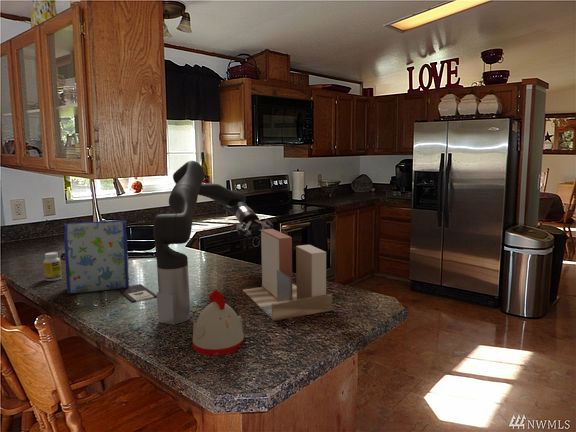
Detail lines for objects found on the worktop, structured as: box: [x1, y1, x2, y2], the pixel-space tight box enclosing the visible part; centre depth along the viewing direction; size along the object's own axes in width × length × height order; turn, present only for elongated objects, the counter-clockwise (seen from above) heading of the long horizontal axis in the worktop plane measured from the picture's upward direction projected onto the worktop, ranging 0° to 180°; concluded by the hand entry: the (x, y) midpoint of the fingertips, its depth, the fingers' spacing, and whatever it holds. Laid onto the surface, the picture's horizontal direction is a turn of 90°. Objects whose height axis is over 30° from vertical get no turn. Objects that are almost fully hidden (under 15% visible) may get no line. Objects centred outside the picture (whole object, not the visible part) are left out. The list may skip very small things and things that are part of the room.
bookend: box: [261, 270, 291, 319], centre depth 136 cm, size 10×6×12 cm, turn 23°
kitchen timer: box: [192, 289, 245, 356], centre depth 116 cm, size 14×14×15 cm
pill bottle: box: [43, 251, 63, 282], centre depth 178 cm, size 6×6×11 cm
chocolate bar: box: [116, 283, 157, 303], centre depth 159 cm, size 9×1×18 cm
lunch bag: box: [63, 219, 130, 294], centre depth 166 cm, size 22×17×26 cm
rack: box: [242, 282, 333, 321], centre depth 148 cm, size 32×20×6 cm, turn 23°
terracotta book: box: [260, 228, 293, 300], centre depth 153 cm, size 18×5×22 cm, turn 23°
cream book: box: [295, 244, 327, 299], centre depth 141 cm, size 12×5×19 cm, turn 23°
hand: (261, 235), depth 167 cm, fingers open, 8 cm apart
